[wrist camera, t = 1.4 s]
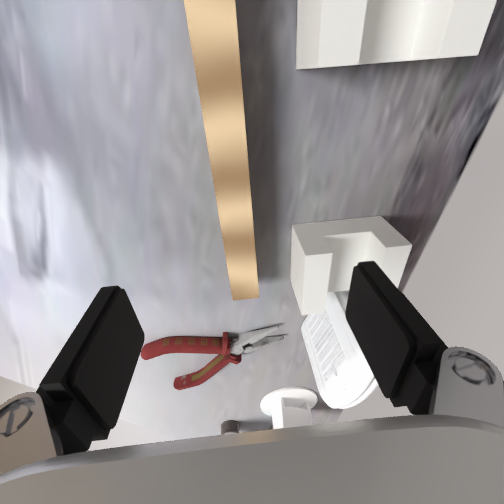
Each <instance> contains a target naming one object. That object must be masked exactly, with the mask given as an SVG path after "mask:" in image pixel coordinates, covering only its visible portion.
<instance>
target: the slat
mask: <svg viewBox="0 0 504 504" xmlns="http://www.w3.org/2000/svg"><path fill="white" fill-rule="evenodd" d="M184 4H185V10H186V16H187V22H188V28H189V35H190V41H191V47H192V53H193V59H194V65H195V71H196V77H197V84H198V90H199V96H200V102H201V108H202V114H203V120H204V126H205V133H206V139H207V145H208V151H209V157H210V163H211V169H212V176H213V182H214V188H215V194H216V200H217V206H218V212H219V218H220V225H221V231H222V237H223V243H224V249H225V255H226V261H227V267H228V274H229V280H230V286H231V292H232V298H233V300H241V299H250V298H259V289H258V277H257V264H256V252H255V240H254V227H253V215H252V203H251V190H250V178H249V166H248V153H247V141H246V129H245V116H244V104H243V92H242V79H241V67H240V55H239V42H238V30H237V18H236V5H235V0H184Z"/></svg>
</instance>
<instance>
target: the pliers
mask: <svg viewBox="0 0 504 504" xmlns="http://www.w3.org/2000/svg"><path fill="white" fill-rule="evenodd" d="M278 328H279V326H274V327H270V328H265V329H260V330H255V331H250V332H246V333H243V334H241V335H239V338H231V339H230V338H228V332H223V338H218V337H189V336H174V337H165V338H162V339H159V340H156V341H153V342H151V343H148V344H146V345H144V347H143V348H142V350H141V357H142V358H143V359H144V360H148V359H151V358H154V357H157V356H160V355H163V354H168V353H206V354H219V355H218V356H217V357H215V358H214V359H213V360H212V361H211V362H209V363H208V364H207V365H206V366H205V367H203V368H202V369H200V370H199V371H197V372H194V373H191V374H187V375H184V376H180V377H177V378H175V380H174V388H175V389H177V390H182V389H186V388H190V387H194V386H198V385H200V384H202V383H204V382H205V381H207V380H208V379H210V378H211V377H212V376H213V375H214V374H216V373H217V372H218V371H219V370H221V369H222V368H223V367H224V366H226V365H227V364H228V363H229V362H231V363H234V364H238V363H240V362H241V353H242V352H243V350H244V353H245V354H246V353H250V352H253V351H256V350H258V349H260V348H263V347H265V346H268V345H270V344H272V343H275V342H277V341H279V340H282V339H284V336H278V337H265V336H267V335H268V334H270V333H272V332H273V331H275V330H277V329H278Z"/></svg>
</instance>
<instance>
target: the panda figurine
mask: <svg viewBox="0 0 504 504" xmlns="http://www.w3.org/2000/svg"><path fill="white" fill-rule="evenodd" d="M316 403H317V395H316V393H315V392H314V391H312V390H310V389H308V388H304V387H287V388H282V389H278V390H276V391H273V392H271V393H269V394H268V395H266V396H265V397H264V398H263V399H262V401H261V403H260V407H261V410H262V411H263V412H264V413H265V414H267V415H269V416H272V419H273V425H272V426H271V427H270V428H269V430H271V429H280V428H289V427H298V426H307V425H314V424H313V420H312V416H311V411H310V409H312V408H313V407H314V406H315V405H316Z"/></svg>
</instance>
